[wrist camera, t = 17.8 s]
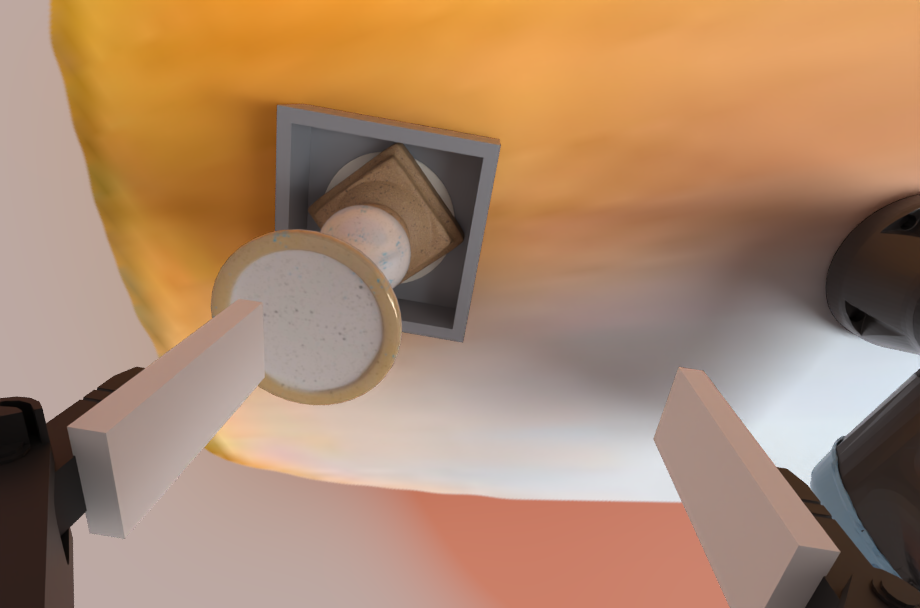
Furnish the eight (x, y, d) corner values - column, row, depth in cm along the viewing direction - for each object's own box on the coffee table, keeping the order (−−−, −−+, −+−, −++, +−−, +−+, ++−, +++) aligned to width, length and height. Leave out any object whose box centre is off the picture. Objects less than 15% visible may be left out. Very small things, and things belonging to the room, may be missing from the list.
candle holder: (310, 204, 48) (157, 298, 26) (400, 138, 45) (314, 179, 23) (379, 292, 51) (296, 443, 29) (467, 236, 48) (449, 354, 26)
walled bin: (499, 139, 46) (500, 145, 40) (465, 316, 53) (462, 342, 47) (302, 103, 45) (277, 104, 40) (296, 287, 52) (273, 309, 47)
